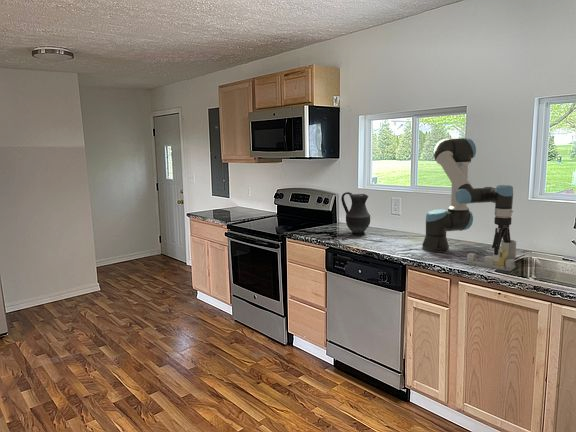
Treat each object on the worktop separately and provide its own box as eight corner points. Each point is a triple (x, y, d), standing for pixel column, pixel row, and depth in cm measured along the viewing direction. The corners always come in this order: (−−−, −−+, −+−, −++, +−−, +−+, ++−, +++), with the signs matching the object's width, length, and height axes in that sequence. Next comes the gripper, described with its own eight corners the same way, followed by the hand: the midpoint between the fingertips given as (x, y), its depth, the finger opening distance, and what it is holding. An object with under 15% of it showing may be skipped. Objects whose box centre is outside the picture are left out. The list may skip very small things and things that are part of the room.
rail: (464, 263, 220) (465, 255, 219) (471, 260, 227) (471, 251, 226) (510, 271, 205) (511, 262, 204) (516, 267, 212) (516, 258, 211)
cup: (517, 257, 229) (518, 241, 228) (509, 260, 223) (510, 244, 222) (504, 254, 235) (505, 239, 234) (495, 258, 229) (496, 242, 228)
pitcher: (364, 238, 286) (364, 194, 281) (337, 235, 297) (336, 193, 292) (373, 233, 301) (374, 191, 295) (347, 230, 311) (346, 190, 306)
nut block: (494, 266, 212) (494, 251, 211) (497, 264, 215) (497, 249, 214) (503, 268, 209) (504, 252, 208) (506, 265, 212) (507, 250, 211)
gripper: (503, 221, 197) (500, 264, 200) (518, 213, 214) (516, 253, 218) (486, 219, 202) (484, 262, 205) (503, 212, 220) (500, 251, 223)
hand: (500, 258), depth 212 cm, fingers open, 13 cm apart
